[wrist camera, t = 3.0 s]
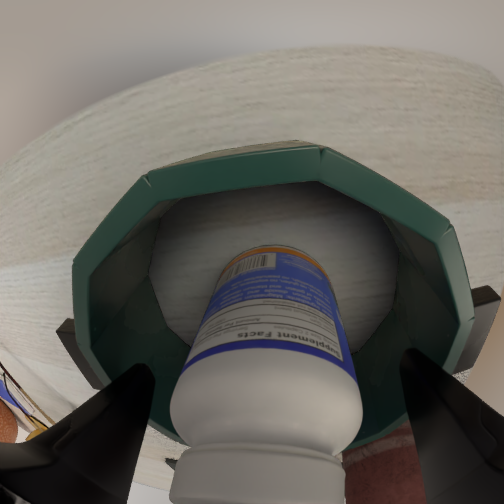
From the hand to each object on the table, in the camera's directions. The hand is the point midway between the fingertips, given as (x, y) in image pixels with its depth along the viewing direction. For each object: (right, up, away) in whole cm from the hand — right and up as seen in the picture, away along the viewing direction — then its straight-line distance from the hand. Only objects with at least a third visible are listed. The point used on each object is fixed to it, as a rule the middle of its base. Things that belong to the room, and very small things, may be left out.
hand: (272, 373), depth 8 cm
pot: (0, +2, +4) cm, 5 cm away
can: (+9, -9, +9) cm, 16 cm away
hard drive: (-44, -20, +19) cm, 52 cm away
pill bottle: (0, +2, +4) cm, 5 cm away
